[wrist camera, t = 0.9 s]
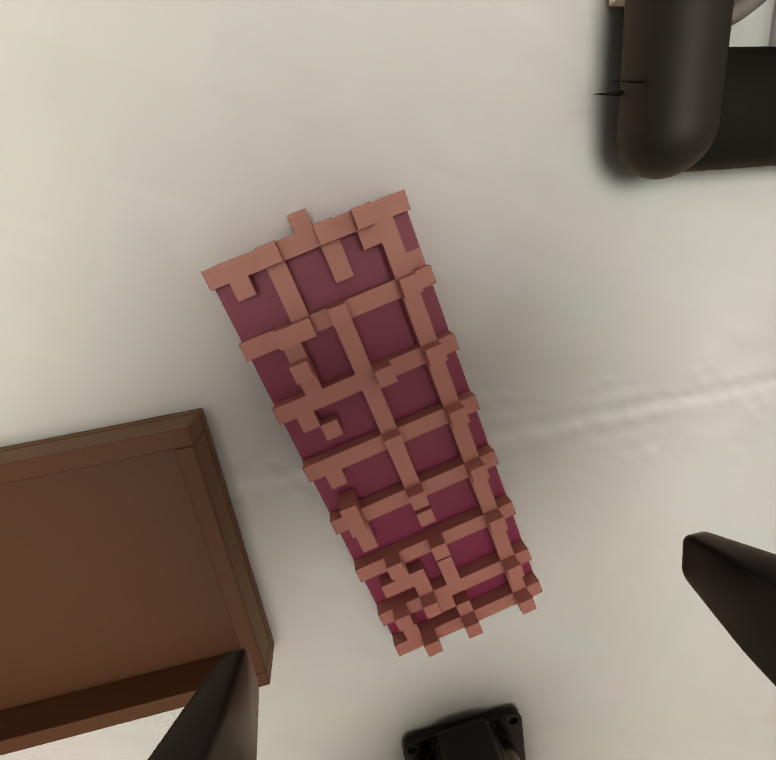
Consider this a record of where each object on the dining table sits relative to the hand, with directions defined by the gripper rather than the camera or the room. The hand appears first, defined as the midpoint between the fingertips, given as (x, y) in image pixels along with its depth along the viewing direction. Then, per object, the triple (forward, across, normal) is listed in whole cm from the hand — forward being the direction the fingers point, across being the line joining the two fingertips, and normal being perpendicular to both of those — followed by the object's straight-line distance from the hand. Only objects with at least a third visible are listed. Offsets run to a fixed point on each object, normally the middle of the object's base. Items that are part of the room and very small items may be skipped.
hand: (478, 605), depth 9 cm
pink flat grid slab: (+10, 0, +1) cm, 10 cm away
